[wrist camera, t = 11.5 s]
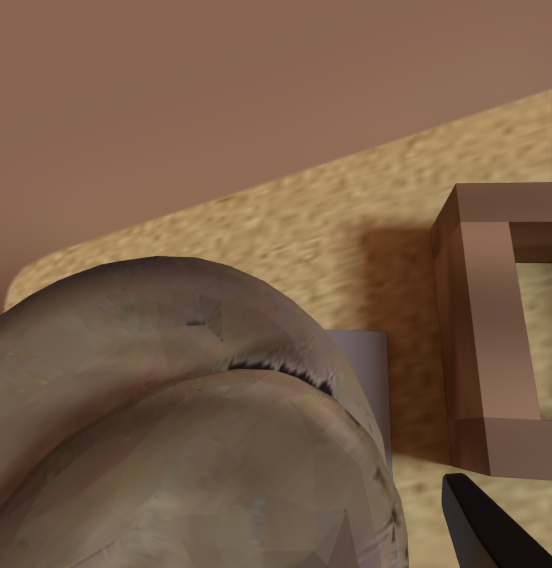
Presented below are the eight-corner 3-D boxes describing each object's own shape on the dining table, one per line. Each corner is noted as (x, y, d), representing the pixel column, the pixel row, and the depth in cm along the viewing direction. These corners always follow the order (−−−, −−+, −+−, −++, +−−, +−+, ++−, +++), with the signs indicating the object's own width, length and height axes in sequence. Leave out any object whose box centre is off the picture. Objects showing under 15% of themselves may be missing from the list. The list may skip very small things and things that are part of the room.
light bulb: (370, 452, 16) (652, 569, 2) (273, 554, 16) (-154, 1642, 2) (279, 353, 18) (138, 99, 4) (187, 440, 17) (-366, 473, 3)
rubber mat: (395, 590, 15) (397, 595, 15) (145, 565, 16) (140, 569, 16) (384, 333, 19) (386, 331, 18) (178, 328, 20) (175, 325, 19)
